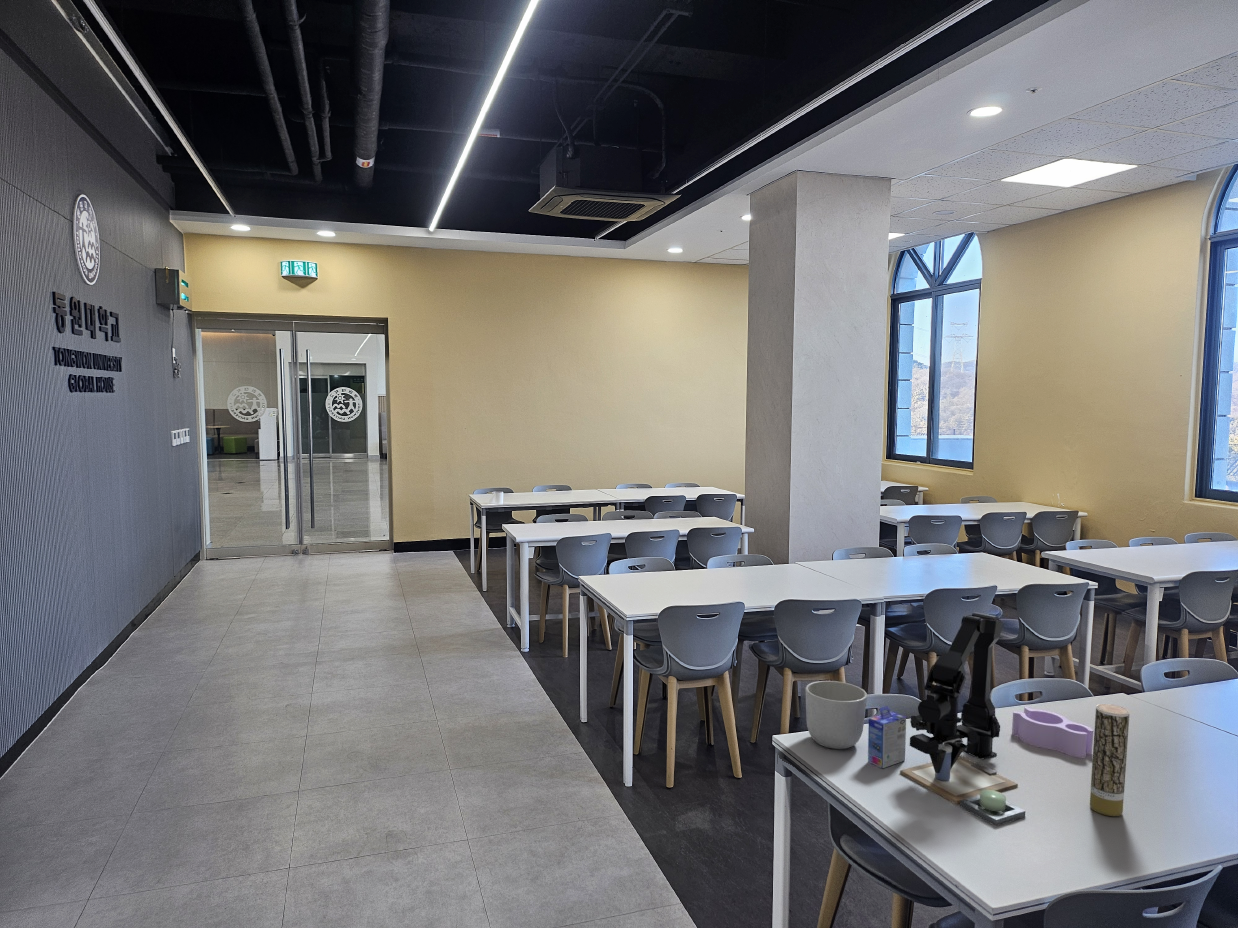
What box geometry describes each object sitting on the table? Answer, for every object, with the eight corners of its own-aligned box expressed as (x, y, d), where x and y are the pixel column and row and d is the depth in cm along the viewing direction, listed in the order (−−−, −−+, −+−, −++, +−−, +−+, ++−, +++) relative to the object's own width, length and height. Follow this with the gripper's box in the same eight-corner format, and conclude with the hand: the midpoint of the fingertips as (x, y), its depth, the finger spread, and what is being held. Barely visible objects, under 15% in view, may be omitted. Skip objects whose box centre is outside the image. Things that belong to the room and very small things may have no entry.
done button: (990, 797, 193) (991, 787, 193) (1010, 808, 188) (1011, 798, 188) (974, 802, 190) (974, 792, 190) (994, 813, 185) (995, 802, 185)
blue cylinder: (941, 773, 206) (943, 741, 206) (953, 780, 203) (955, 747, 202) (931, 776, 205) (932, 744, 204) (943, 782, 201) (944, 750, 201)
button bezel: (988, 797, 196) (988, 791, 196) (1025, 816, 187) (1025, 810, 187) (960, 806, 192) (960, 800, 191) (996, 825, 183) (996, 819, 182)
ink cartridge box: (889, 753, 221) (891, 702, 220) (906, 760, 216) (908, 708, 215) (865, 761, 215) (868, 709, 214) (882, 769, 211) (885, 716, 210)
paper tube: (1122, 820, 186) (1129, 716, 185) (1089, 812, 190) (1095, 710, 188) (1122, 808, 192) (1129, 707, 190) (1089, 800, 196) (1096, 701, 194)
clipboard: (959, 758, 218) (959, 753, 218) (1017, 786, 202) (1017, 781, 202) (900, 772, 209) (900, 767, 208) (956, 804, 192) (956, 798, 192)
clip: (1098, 751, 225) (1100, 727, 225) (1077, 761, 218) (1079, 737, 218) (1028, 727, 242) (1029, 704, 241) (1006, 736, 234) (1008, 713, 234)
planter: (813, 726, 238) (815, 676, 237) (871, 739, 230) (873, 687, 229) (795, 746, 224) (797, 693, 223) (856, 760, 215) (858, 706, 214)
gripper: (945, 696, 214) (943, 752, 215) (894, 706, 206) (891, 764, 207) (981, 710, 204) (977, 769, 205) (928, 721, 196) (925, 783, 197)
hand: (942, 771), depth 204 cm, fingers closed on blue cylinder, 4 cm apart
